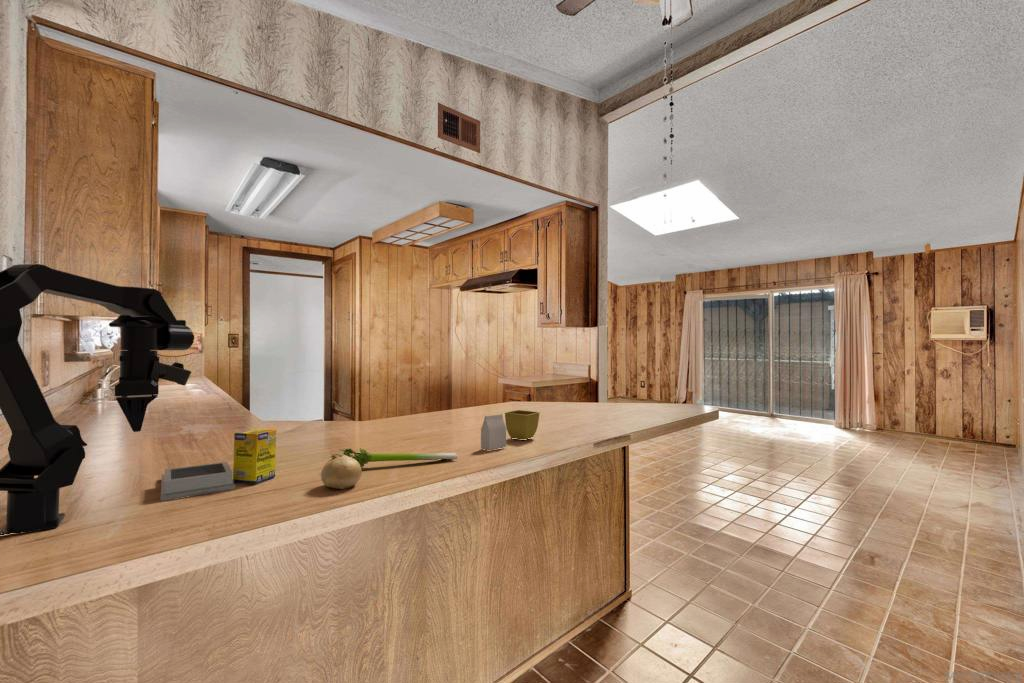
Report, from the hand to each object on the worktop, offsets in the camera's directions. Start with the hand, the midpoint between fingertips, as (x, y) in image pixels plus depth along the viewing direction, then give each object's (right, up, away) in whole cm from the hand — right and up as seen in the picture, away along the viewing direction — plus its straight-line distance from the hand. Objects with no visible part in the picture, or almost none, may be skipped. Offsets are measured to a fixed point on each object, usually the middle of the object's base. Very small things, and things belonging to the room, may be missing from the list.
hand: (137, 428), depth 88 cm
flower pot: (+79, -15, +56) cm, 98 cm away
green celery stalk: (+46, -15, +23) cm, 54 cm away
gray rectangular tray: (+8, -13, +6) cm, 16 cm away
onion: (+39, -14, +5) cm, 42 cm away
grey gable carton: (+70, -15, +42) cm, 83 cm away
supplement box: (+18, -14, +9) cm, 24 cm away
